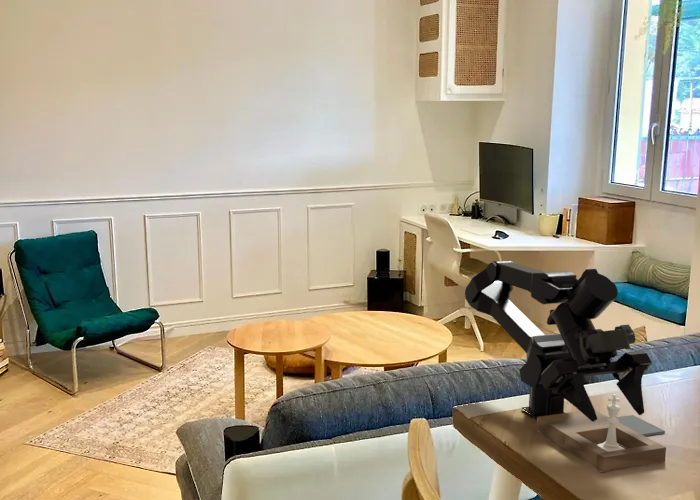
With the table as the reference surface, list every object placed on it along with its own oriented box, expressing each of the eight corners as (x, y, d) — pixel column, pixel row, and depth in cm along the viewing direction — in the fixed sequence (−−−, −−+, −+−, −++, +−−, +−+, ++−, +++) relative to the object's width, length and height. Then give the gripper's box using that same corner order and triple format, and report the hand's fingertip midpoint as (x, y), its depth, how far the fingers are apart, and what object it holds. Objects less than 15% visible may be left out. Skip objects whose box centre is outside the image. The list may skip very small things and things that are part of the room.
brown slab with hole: (536, 430, 123) (537, 416, 123) (592, 422, 127) (593, 409, 127) (602, 472, 107) (603, 457, 107) (664, 462, 111) (666, 447, 111)
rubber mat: (597, 421, 128) (597, 419, 128) (632, 416, 130) (632, 414, 130) (628, 438, 120) (628, 436, 120) (664, 433, 123) (665, 430, 123)
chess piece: (629, 461, 111) (633, 401, 110) (596, 458, 112) (600, 398, 111) (623, 448, 116) (627, 390, 115) (592, 446, 117) (596, 388, 116)
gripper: (554, 311, 112) (596, 401, 103) (648, 304, 118) (695, 388, 109) (524, 346, 120) (560, 432, 111) (613, 338, 126) (654, 418, 117)
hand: (618, 417), depth 112 cm, fingers open, 9 cm apart
